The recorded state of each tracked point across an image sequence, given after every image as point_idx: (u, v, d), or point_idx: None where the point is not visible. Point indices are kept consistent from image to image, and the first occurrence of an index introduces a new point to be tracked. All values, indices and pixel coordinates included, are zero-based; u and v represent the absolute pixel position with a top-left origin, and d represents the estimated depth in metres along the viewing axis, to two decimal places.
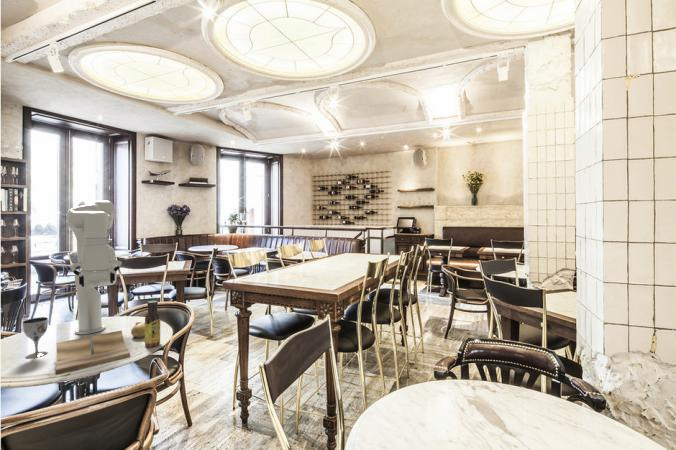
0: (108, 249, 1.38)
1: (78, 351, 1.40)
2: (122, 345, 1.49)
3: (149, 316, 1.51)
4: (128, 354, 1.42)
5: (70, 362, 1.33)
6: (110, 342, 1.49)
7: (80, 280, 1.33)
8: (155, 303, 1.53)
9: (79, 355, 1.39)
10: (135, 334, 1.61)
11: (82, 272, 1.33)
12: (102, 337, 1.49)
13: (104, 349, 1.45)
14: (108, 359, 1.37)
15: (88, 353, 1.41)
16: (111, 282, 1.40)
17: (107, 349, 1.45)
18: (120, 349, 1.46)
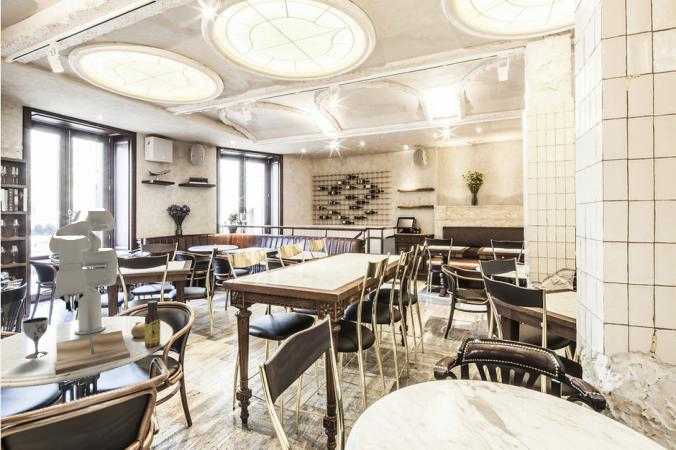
0: (82, 273, 1.43)
1: (78, 351, 1.40)
2: (122, 345, 1.49)
3: (149, 316, 1.51)
4: (128, 354, 1.42)
5: (70, 362, 1.33)
6: (110, 342, 1.49)
7: (66, 305, 1.41)
8: (155, 303, 1.53)
9: (79, 355, 1.39)
10: (135, 334, 1.61)
11: (66, 298, 1.40)
12: (102, 337, 1.49)
13: (104, 349, 1.45)
14: (108, 359, 1.37)
15: (88, 353, 1.41)
16: (74, 310, 1.42)
17: (107, 349, 1.45)
18: (120, 349, 1.46)
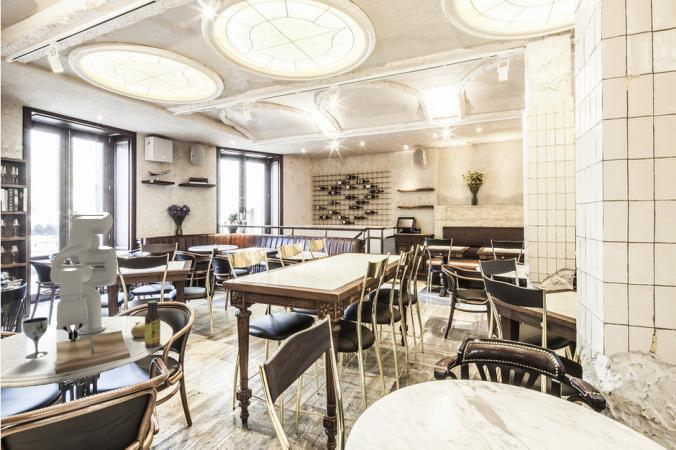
0: (83, 304, 1.44)
1: (78, 351, 1.40)
2: (122, 345, 1.49)
3: (149, 316, 1.51)
4: (128, 354, 1.42)
5: (70, 362, 1.33)
6: (110, 342, 1.49)
7: (69, 336, 1.42)
8: (155, 303, 1.53)
9: (79, 355, 1.39)
10: (135, 334, 1.61)
11: (68, 328, 1.41)
12: (102, 337, 1.49)
13: (104, 349, 1.45)
14: (108, 359, 1.37)
15: (88, 353, 1.41)
16: (74, 340, 1.42)
17: (107, 349, 1.45)
18: (120, 349, 1.46)
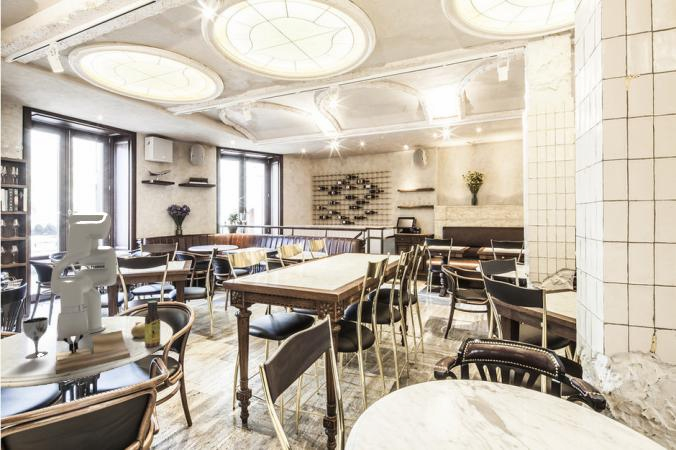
0: (84, 315, 1.44)
1: (78, 354, 1.41)
2: (122, 345, 1.49)
3: (149, 316, 1.51)
4: (128, 354, 1.42)
5: (70, 362, 1.33)
6: (110, 342, 1.49)
7: (70, 347, 1.42)
8: (155, 303, 1.53)
9: (79, 355, 1.40)
10: (135, 334, 1.61)
11: (68, 340, 1.41)
12: (102, 337, 1.49)
13: (104, 349, 1.45)
14: (108, 359, 1.37)
15: (88, 353, 1.42)
16: (74, 351, 1.43)
17: (107, 349, 1.45)
18: (120, 349, 1.46)
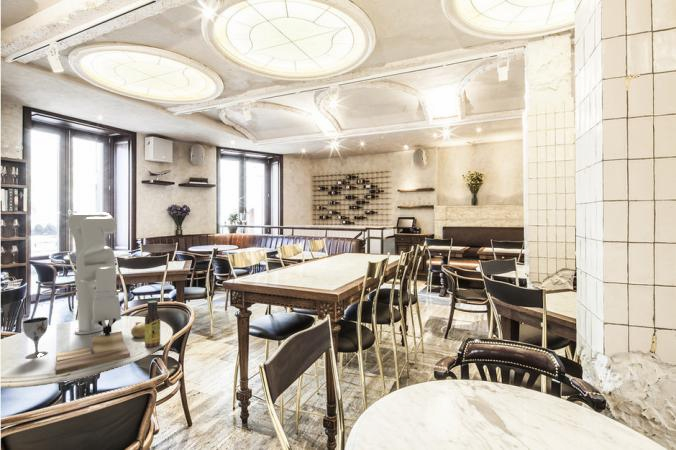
0: (117, 300, 1.52)
1: (78, 354, 1.41)
2: (122, 345, 1.49)
3: (149, 316, 1.51)
4: (128, 354, 1.42)
5: (70, 362, 1.33)
6: (110, 342, 1.49)
7: (104, 330, 1.50)
8: (155, 303, 1.53)
9: (79, 355, 1.40)
10: (135, 334, 1.61)
11: (103, 323, 1.49)
12: (102, 338, 1.50)
13: (104, 349, 1.45)
14: (108, 359, 1.37)
15: (88, 353, 1.42)
16: (108, 334, 1.51)
17: (107, 349, 1.45)
18: (120, 349, 1.46)
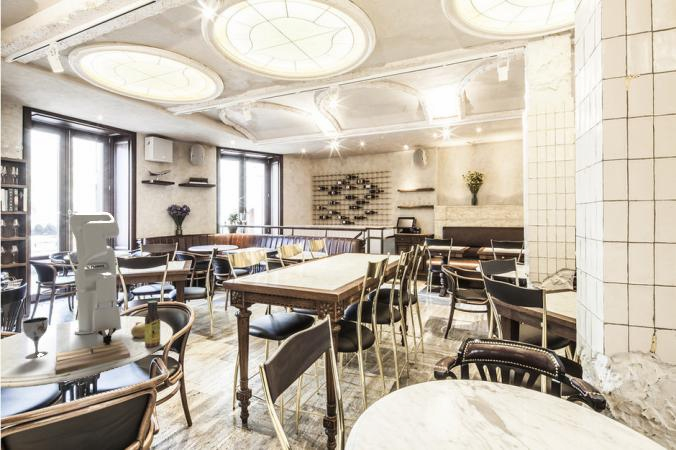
0: (117, 310, 1.52)
1: (78, 354, 1.41)
2: (121, 345, 1.50)
3: (149, 316, 1.51)
4: (128, 354, 1.42)
5: (70, 362, 1.33)
6: (109, 346, 1.50)
7: (104, 339, 1.51)
8: (155, 303, 1.53)
9: (79, 355, 1.40)
10: (135, 334, 1.61)
11: (103, 333, 1.50)
12: (102, 345, 1.51)
13: (104, 349, 1.46)
14: (108, 359, 1.37)
15: (88, 353, 1.42)
16: (108, 344, 1.51)
17: (107, 349, 1.46)
18: (120, 349, 1.46)
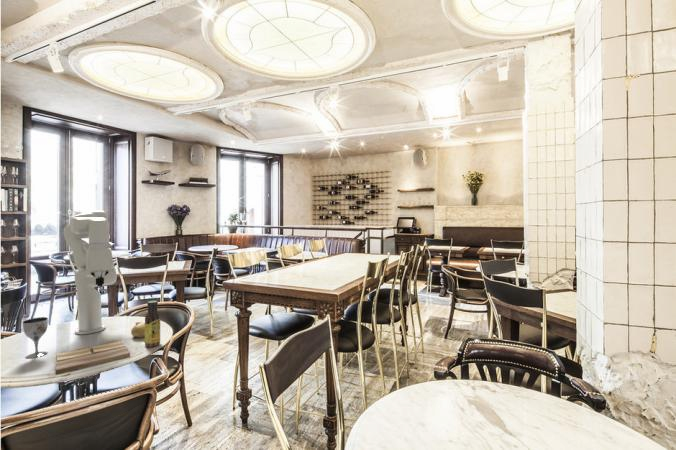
0: (110, 252, 1.55)
1: (78, 354, 1.41)
2: (121, 345, 1.50)
3: (149, 316, 1.51)
4: (128, 354, 1.42)
5: (70, 362, 1.33)
6: (109, 346, 1.50)
7: (97, 281, 1.54)
8: (155, 303, 1.53)
9: (79, 355, 1.40)
10: (135, 334, 1.61)
11: (96, 274, 1.53)
12: (102, 345, 1.51)
13: (104, 349, 1.46)
14: (108, 359, 1.37)
15: (88, 353, 1.42)
16: (100, 285, 1.54)
17: (107, 349, 1.46)
18: (120, 349, 1.46)
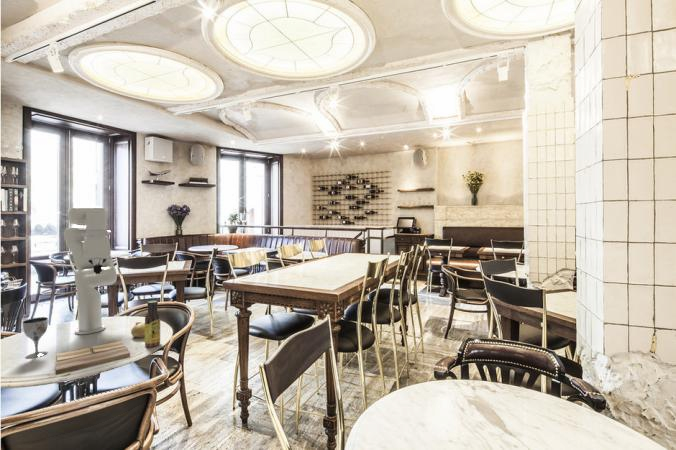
0: (107, 240, 1.57)
1: (78, 354, 1.41)
2: (121, 345, 1.50)
3: (149, 316, 1.51)
4: (128, 354, 1.42)
5: (70, 362, 1.33)
6: (109, 346, 1.50)
7: (94, 268, 1.55)
8: (155, 303, 1.53)
9: (79, 355, 1.40)
10: (135, 334, 1.61)
11: (93, 261, 1.54)
12: (102, 345, 1.51)
13: (104, 349, 1.46)
14: (108, 359, 1.37)
15: (88, 353, 1.42)
16: (98, 273, 1.55)
17: (107, 349, 1.46)
18: (120, 349, 1.46)
